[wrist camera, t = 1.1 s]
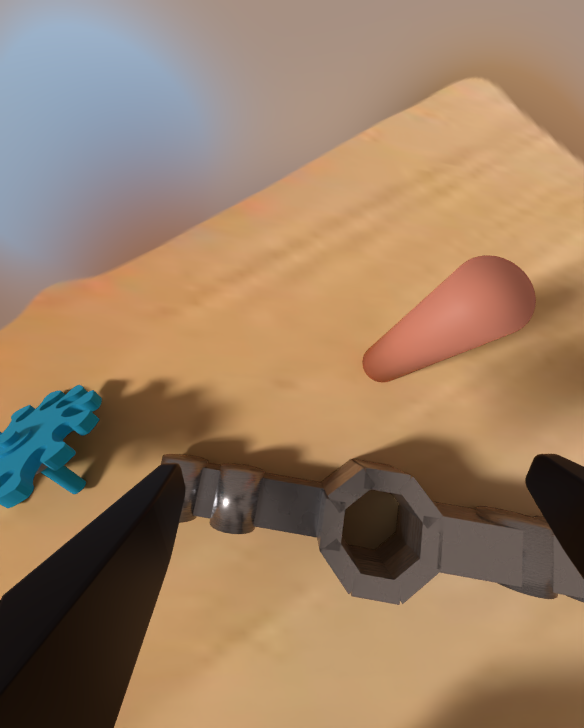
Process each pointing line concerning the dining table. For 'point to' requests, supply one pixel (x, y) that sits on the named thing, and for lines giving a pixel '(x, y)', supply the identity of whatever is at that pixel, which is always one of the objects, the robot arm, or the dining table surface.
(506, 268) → the pin
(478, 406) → the dining table surface
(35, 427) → the gear
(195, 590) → the dining table surface
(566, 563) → the grey jointed bar
